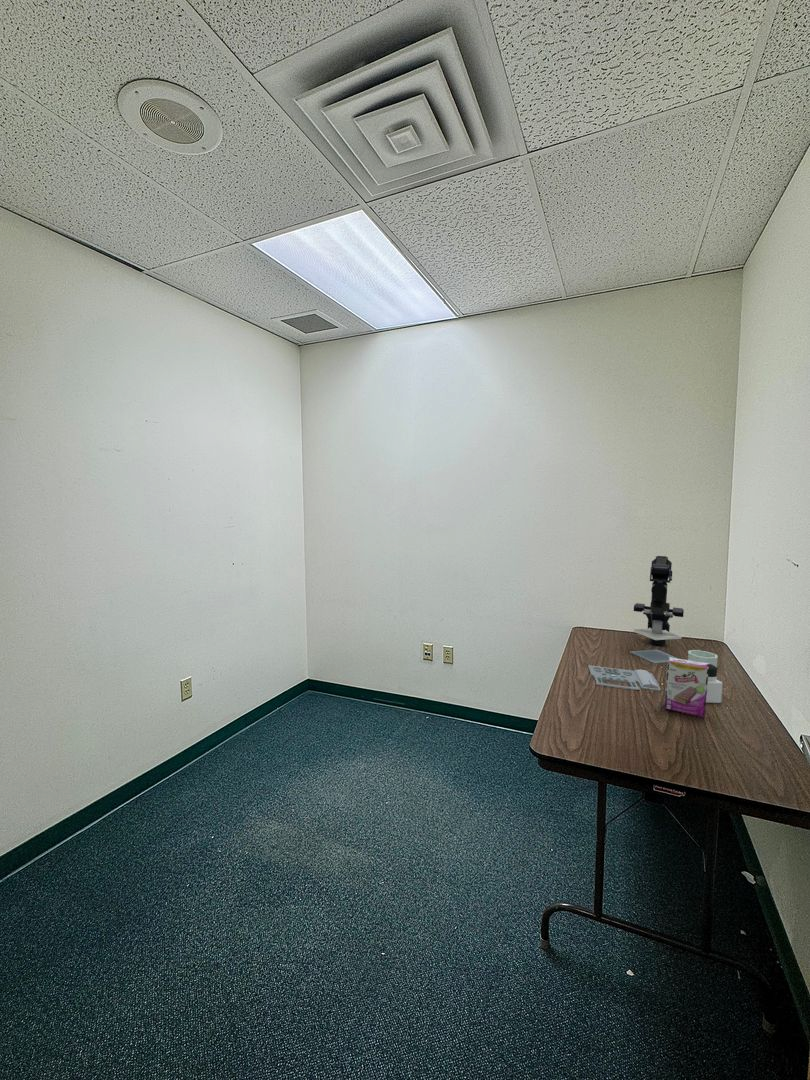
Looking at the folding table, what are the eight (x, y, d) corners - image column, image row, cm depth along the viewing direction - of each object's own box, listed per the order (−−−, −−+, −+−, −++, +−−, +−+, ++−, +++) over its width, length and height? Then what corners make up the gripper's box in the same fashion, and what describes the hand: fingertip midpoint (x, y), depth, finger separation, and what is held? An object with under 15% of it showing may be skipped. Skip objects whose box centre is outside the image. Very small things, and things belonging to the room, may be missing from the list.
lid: (633, 631, 200) (634, 618, 200) (658, 630, 203) (658, 617, 202) (655, 640, 187) (656, 626, 187) (681, 638, 190) (682, 624, 190)
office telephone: (652, 669, 176) (665, 688, 156) (651, 675, 176) (664, 696, 157) (588, 661, 182) (593, 679, 163) (588, 668, 183) (593, 686, 164)
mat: (628, 652, 202) (628, 651, 202) (657, 650, 205) (657, 649, 205) (653, 664, 187) (653, 662, 187) (684, 661, 190) (684, 660, 190)
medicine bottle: (721, 703, 150) (724, 668, 149) (700, 702, 150) (702, 668, 149) (707, 694, 157) (710, 661, 156) (687, 693, 157) (689, 660, 156)
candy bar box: (664, 710, 144) (667, 660, 143) (664, 704, 148) (667, 656, 147) (705, 719, 139) (709, 667, 137) (704, 712, 143) (708, 662, 142)
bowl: (682, 662, 189) (682, 650, 189) (701, 661, 192) (702, 649, 191) (702, 671, 180) (703, 658, 179) (722, 669, 182) (723, 657, 181)
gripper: (633, 594, 192) (631, 629, 193) (684, 599, 182) (681, 637, 183) (635, 590, 201) (634, 624, 203) (684, 595, 191) (682, 631, 192)
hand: (657, 629), depth 195 cm, fingers closed on lid, 4 cm apart
